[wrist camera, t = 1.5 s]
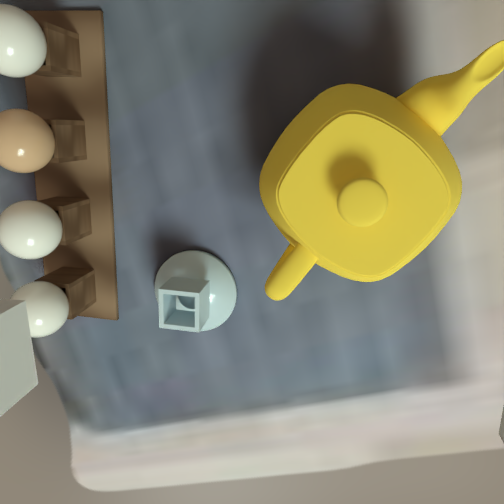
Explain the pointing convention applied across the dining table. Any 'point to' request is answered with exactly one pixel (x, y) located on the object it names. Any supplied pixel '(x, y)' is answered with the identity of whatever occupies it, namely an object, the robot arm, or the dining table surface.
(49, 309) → the white egg
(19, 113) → the brown egg
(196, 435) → the dining table surface
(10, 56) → the white egg
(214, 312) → the egg cup
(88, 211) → the egg rack
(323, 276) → the dining table surface
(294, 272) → the teapot
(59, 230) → the white egg
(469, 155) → the dining table surface
